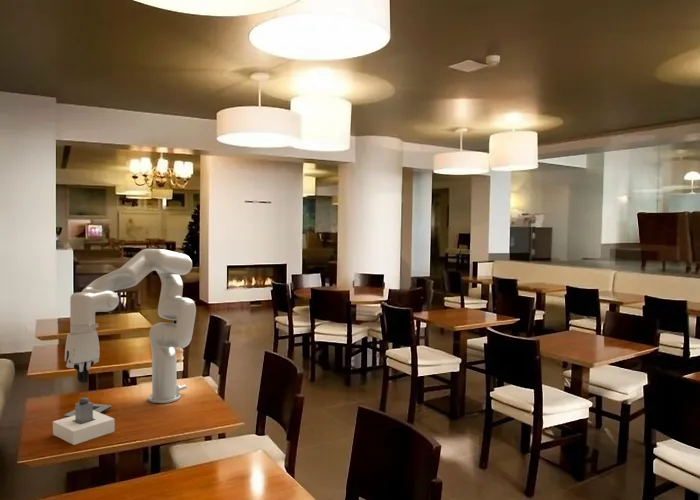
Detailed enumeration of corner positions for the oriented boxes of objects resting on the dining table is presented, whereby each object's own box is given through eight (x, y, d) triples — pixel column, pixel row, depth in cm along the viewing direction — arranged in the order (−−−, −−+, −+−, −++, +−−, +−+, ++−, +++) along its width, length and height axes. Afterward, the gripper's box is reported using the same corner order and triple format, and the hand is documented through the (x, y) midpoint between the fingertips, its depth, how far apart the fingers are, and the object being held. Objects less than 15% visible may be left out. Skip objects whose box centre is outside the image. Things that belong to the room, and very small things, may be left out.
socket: (93, 422, 189) (93, 410, 188) (114, 431, 180) (114, 418, 180) (53, 434, 177) (52, 421, 177) (73, 445, 169) (73, 431, 169)
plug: (87, 428, 182) (87, 395, 181) (92, 431, 179) (92, 398, 179) (75, 432, 178) (75, 398, 178) (81, 435, 176) (80, 401, 175)
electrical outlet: (89, 423, 189) (88, 416, 189) (63, 420, 191) (63, 414, 191) (112, 410, 202) (112, 404, 202) (88, 408, 204) (88, 402, 204)
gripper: (98, 324, 185) (98, 375, 186) (54, 330, 173) (55, 385, 174) (109, 327, 181) (110, 379, 182) (65, 333, 169) (66, 389, 169)
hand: (83, 381), depth 178 cm, fingers closed
